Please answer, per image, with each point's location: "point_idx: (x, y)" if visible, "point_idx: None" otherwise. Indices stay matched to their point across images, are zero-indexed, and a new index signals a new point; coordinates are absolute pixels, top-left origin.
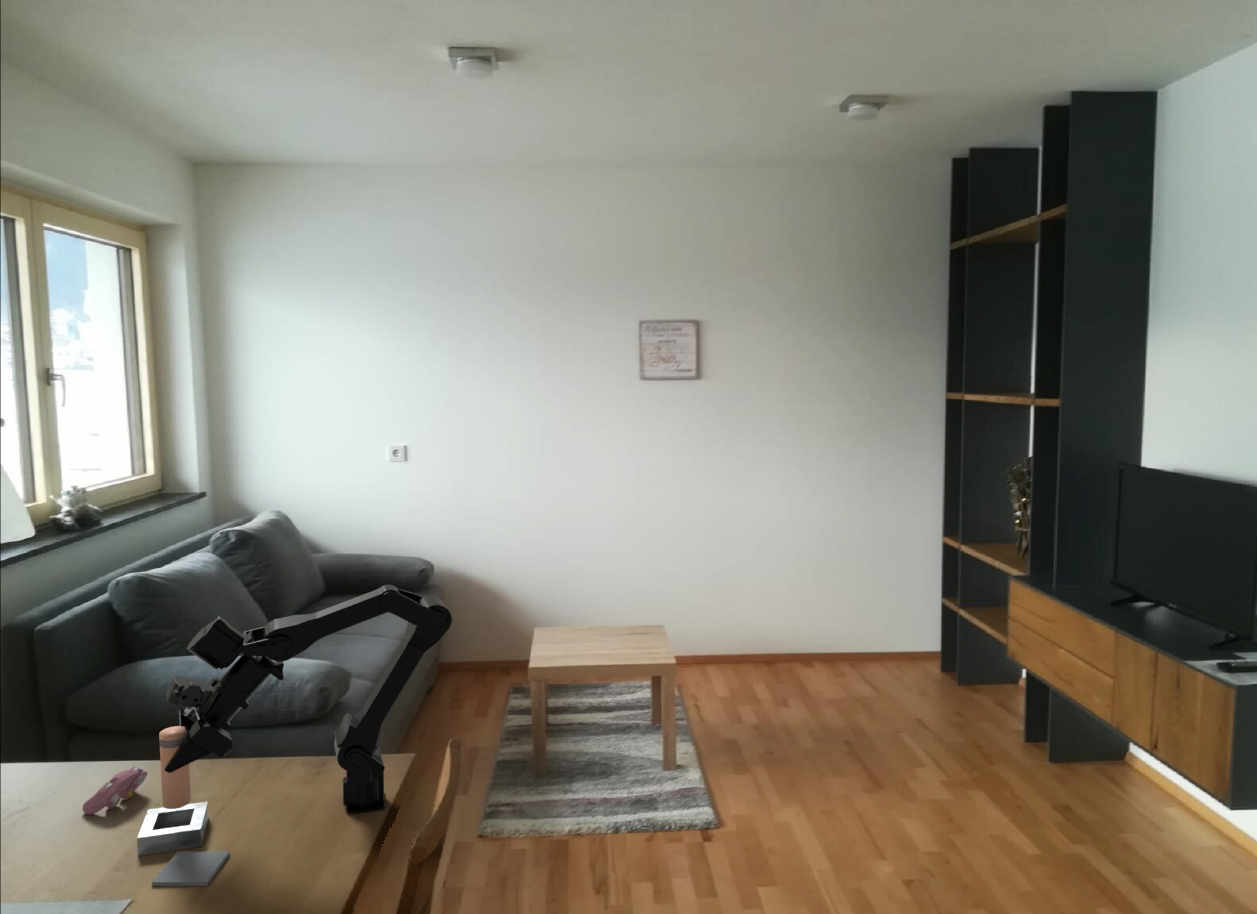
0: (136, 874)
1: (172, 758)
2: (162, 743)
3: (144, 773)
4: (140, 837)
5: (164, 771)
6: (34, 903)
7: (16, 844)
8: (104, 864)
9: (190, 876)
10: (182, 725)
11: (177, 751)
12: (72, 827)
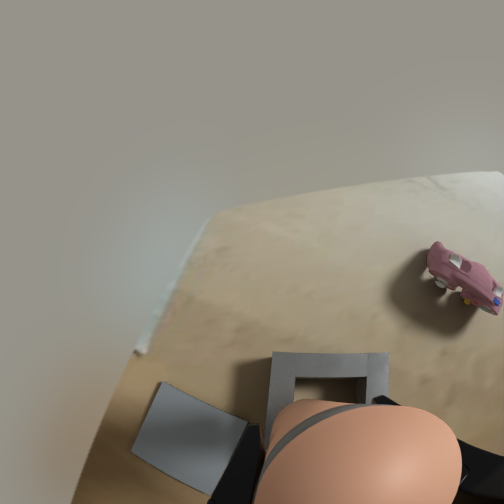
0: (211, 359)
1: (235, 466)
2: (293, 433)
3: (494, 311)
4: (273, 357)
5: (284, 418)
6: (197, 236)
7: (362, 189)
8: (266, 307)
9: (154, 435)
10: (469, 500)
11: (225, 499)
12: (397, 242)
